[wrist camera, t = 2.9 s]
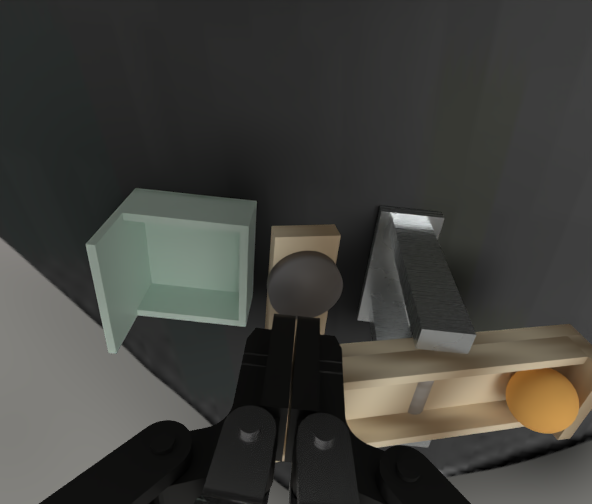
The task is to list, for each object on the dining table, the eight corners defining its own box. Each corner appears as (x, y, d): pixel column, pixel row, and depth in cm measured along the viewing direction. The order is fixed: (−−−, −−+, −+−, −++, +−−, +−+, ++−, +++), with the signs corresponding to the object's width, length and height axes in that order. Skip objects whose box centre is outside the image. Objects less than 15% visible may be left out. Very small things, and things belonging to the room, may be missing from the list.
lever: (254, 421, 22) (263, 486, 20) (265, 223, 16) (281, 279, 13) (528, 387, 26) (569, 439, 23) (628, 214, 19) (700, 257, 17)
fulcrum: (356, 313, 33) (368, 445, 24) (380, 205, 28) (405, 320, 19) (409, 318, 33) (440, 453, 24) (441, 212, 28) (497, 330, 19)
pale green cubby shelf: (135, 187, 28) (85, 244, 23) (256, 200, 28) (238, 260, 22) (147, 284, 33) (108, 352, 27) (252, 295, 33) (236, 366, 27)
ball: (506, 353, 22) (543, 407, 19) (563, 351, 22) (607, 403, 20) (485, 394, 24) (517, 449, 21) (538, 392, 24) (576, 445, 21)
